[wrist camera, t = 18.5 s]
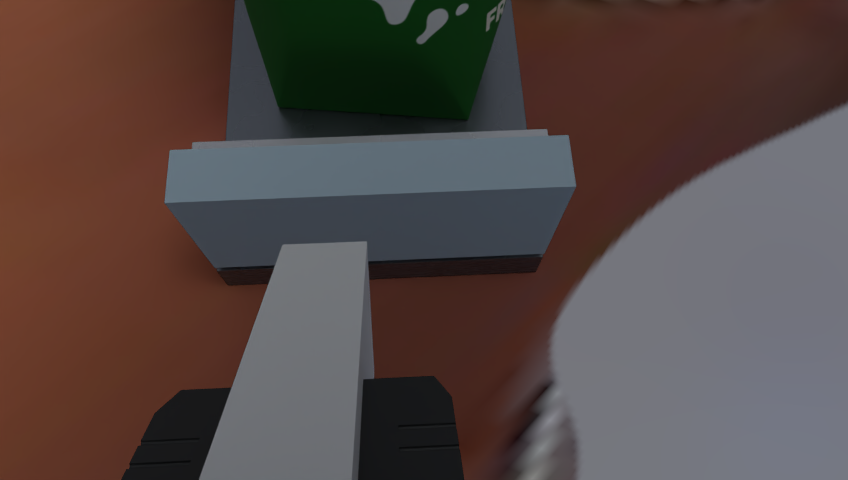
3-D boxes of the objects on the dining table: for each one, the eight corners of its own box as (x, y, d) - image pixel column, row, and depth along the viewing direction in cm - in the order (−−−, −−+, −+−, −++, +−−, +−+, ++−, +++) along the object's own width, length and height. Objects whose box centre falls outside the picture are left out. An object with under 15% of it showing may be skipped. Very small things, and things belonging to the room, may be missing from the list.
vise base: (249, -75, 31) (210, -218, 25) (493, -81, 32) (512, -225, 26) (228, 285, 25) (168, 207, 19) (535, 271, 25) (573, 191, 19)
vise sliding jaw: (218, 213, 24) (171, 137, 19) (537, 199, 24) (566, 122, 20) (214, 268, 23) (164, 203, 18) (544, 253, 23) (575, 186, 19)
